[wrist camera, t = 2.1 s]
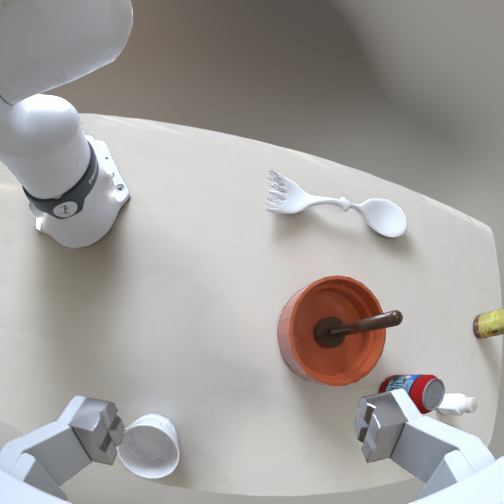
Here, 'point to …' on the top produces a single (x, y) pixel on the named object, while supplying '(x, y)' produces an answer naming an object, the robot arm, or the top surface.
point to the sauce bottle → (489, 324)
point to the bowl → (322, 306)
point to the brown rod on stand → (351, 327)
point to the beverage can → (418, 390)
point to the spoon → (373, 210)
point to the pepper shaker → (457, 405)
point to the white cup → (150, 447)
